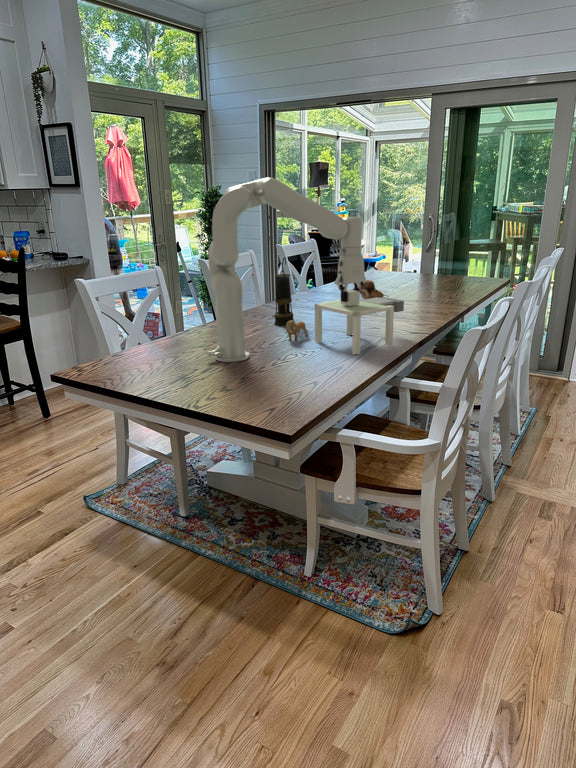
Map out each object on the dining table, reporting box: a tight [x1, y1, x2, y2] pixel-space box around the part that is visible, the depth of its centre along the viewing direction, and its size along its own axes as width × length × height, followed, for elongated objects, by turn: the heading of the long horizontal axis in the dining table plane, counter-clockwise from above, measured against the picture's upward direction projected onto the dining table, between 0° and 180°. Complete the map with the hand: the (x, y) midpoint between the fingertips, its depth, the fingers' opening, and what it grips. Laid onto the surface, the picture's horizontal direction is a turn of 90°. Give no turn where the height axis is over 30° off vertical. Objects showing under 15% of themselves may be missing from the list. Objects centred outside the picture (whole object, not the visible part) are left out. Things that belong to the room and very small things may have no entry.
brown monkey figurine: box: [360, 279, 390, 300], centre depth 293 cm, size 13×16×15 cm
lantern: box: [271, 257, 294, 327], centre depth 243 cm, size 9×9×30 cm
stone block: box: [341, 289, 361, 306], centre depth 205 cm, size 5×5×5 cm
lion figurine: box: [285, 320, 309, 342], centre depth 220 cm, size 15×5×9 cm, turn 154°
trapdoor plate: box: [324, 296, 405, 313], centre depth 211 cm, size 29×19×4 cm
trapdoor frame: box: [314, 298, 395, 355], centre depth 209 cm, size 19×24×16 cm
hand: (350, 300), depth 205 cm, fingers open, 5 cm apart
